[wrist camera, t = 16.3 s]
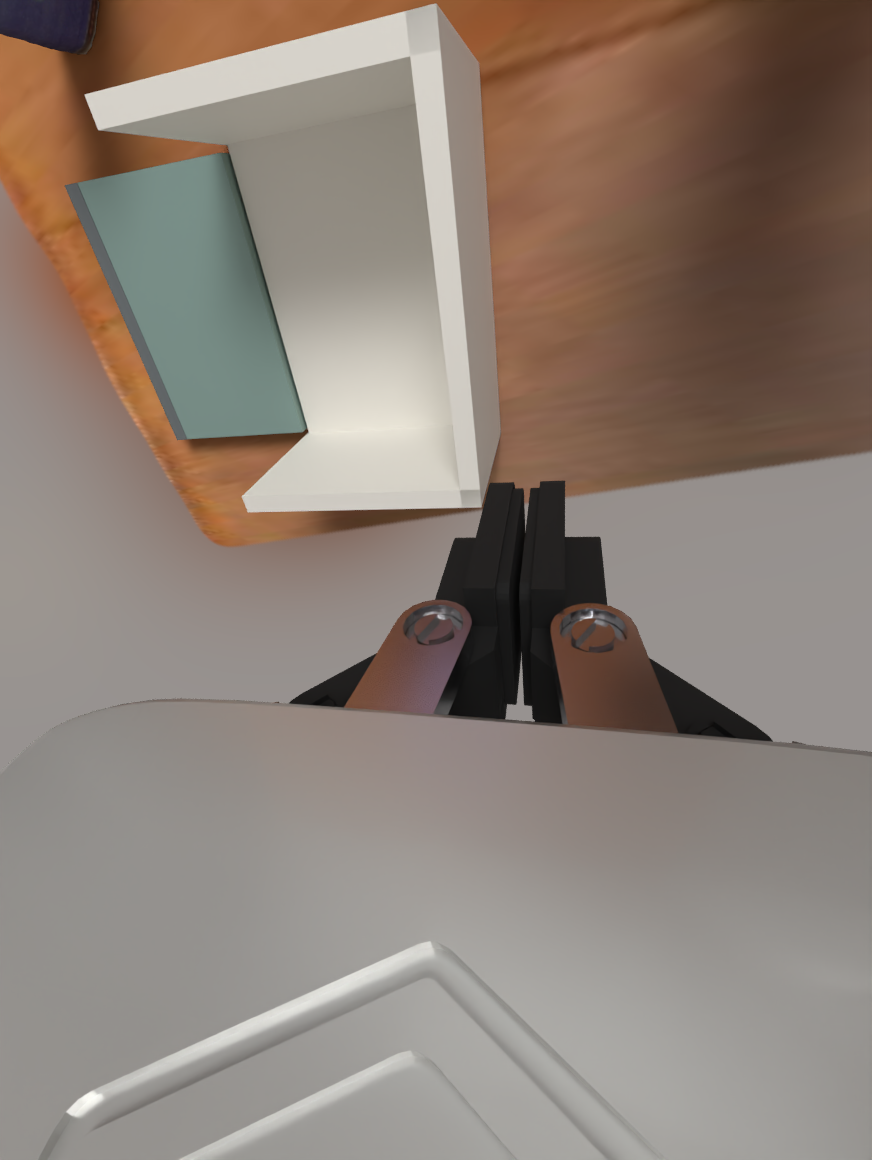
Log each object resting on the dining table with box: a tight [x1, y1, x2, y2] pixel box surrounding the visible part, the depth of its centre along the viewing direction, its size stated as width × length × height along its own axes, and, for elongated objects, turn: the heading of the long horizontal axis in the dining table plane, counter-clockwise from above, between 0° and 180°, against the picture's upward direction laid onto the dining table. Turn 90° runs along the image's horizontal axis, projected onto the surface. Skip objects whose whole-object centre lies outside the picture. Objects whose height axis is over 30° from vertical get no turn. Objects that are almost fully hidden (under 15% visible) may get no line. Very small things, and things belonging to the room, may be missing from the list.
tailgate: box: [65, 153, 307, 440], centre depth 39 cm, size 1×18×12 cm
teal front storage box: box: [85, 4, 501, 512], centre depth 32 cm, size 16×21×12 cm
